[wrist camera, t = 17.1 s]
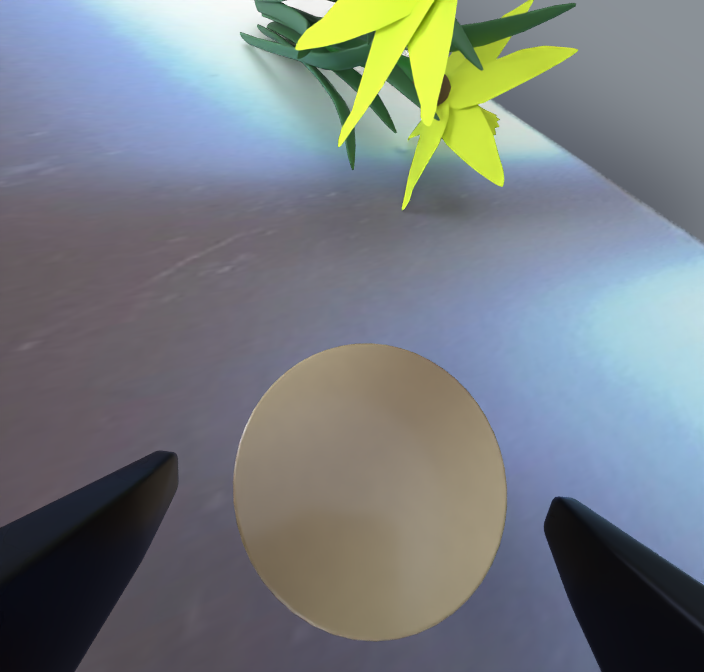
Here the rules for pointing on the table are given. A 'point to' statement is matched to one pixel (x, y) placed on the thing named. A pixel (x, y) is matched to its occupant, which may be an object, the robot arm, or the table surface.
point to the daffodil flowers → (416, 67)
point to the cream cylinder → (370, 492)
